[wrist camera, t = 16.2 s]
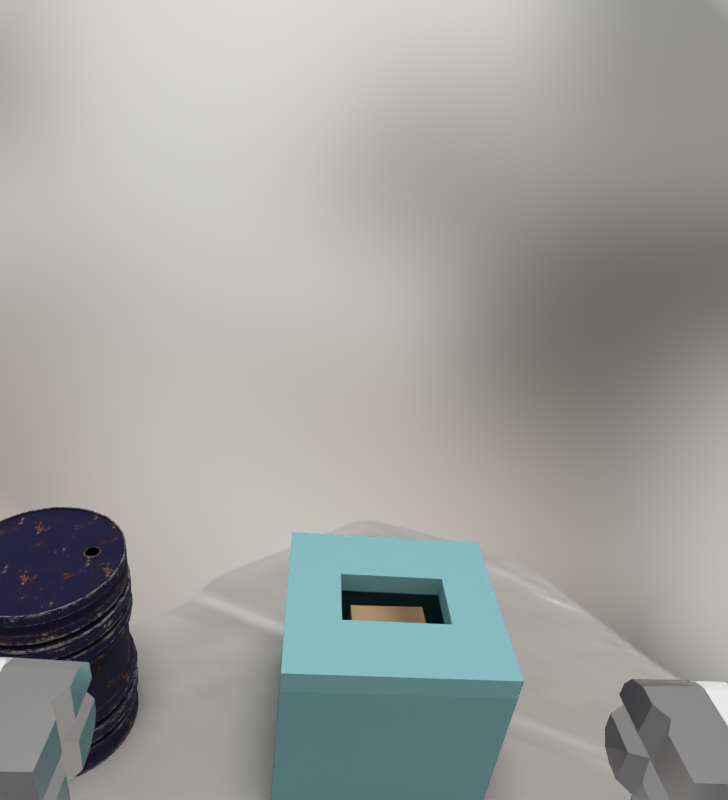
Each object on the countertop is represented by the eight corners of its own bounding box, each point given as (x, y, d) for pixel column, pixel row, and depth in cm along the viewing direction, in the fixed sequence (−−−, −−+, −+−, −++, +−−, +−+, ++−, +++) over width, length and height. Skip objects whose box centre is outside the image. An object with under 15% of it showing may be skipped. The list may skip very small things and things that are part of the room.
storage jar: (-33, 800, 38) (-85, 629, 31) (5, 668, 46) (-29, 511, 40) (136, 769, 41) (122, 607, 34) (143, 650, 49) (133, 501, 42)
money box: (270, 809, 40) (280, 673, 34) (282, 656, 50) (292, 532, 44) (478, 811, 41) (523, 681, 35) (447, 662, 52) (478, 543, 46)
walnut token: (338, 733, 44) (353, 634, 39) (336, 702, 46) (350, 605, 41) (406, 733, 44) (428, 636, 40) (401, 702, 46) (422, 606, 42)
